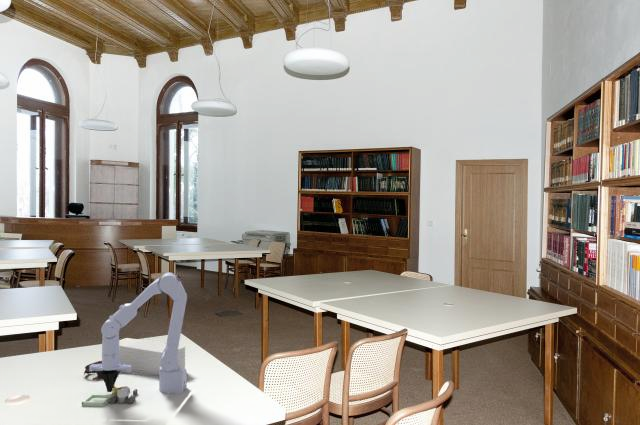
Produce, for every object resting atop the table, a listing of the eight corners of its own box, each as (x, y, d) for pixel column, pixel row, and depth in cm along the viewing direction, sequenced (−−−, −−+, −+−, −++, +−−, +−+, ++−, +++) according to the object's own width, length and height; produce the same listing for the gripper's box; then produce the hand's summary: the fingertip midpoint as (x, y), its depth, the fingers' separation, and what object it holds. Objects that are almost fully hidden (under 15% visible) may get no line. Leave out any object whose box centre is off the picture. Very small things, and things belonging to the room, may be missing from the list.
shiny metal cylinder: (130, 400, 168) (130, 386, 168) (125, 405, 164) (126, 390, 164) (120, 400, 168) (120, 386, 168) (115, 404, 164) (115, 390, 164)
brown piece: (85, 386, 184) (80, 366, 187) (89, 389, 193) (84, 369, 195) (118, 375, 189) (113, 354, 192) (120, 378, 197) (116, 358, 200)
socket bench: (150, 392, 178) (150, 384, 178) (131, 411, 161) (131, 402, 161) (102, 391, 179) (102, 383, 179) (78, 410, 162) (78, 401, 162)
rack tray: (113, 399, 169) (113, 394, 169) (104, 407, 162) (104, 402, 162) (92, 398, 169) (92, 394, 169) (81, 406, 162) (81, 402, 162)
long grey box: (184, 372, 201) (185, 346, 201) (167, 380, 192) (168, 353, 192) (126, 361, 214) (126, 337, 214) (107, 369, 204) (107, 343, 204)
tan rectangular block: (126, 393, 173) (126, 386, 173) (124, 395, 172) (124, 388, 172) (114, 393, 174) (114, 386, 174) (112, 395, 172) (112, 388, 172)
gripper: (135, 350, 176) (134, 387, 177) (96, 349, 177) (95, 386, 177) (127, 356, 169) (126, 394, 169) (86, 355, 170) (86, 393, 170)
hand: (110, 391), depth 173 cm, fingers closed
